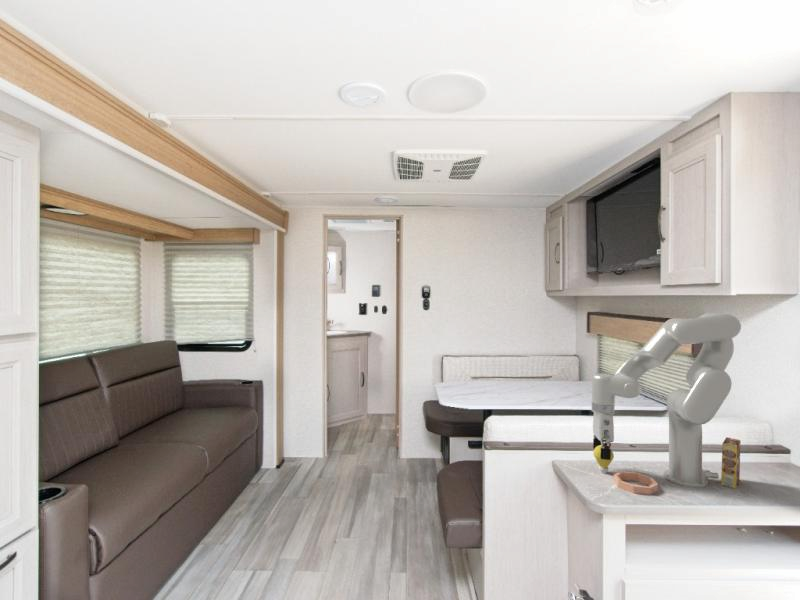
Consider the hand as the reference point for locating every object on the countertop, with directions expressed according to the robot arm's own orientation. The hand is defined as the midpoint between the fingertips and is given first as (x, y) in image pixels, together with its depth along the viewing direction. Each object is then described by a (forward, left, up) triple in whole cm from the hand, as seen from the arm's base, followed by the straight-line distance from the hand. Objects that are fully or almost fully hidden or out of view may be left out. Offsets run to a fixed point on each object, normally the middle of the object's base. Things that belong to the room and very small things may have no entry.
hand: (601, 454), depth 149 cm
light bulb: (-1, 0, -7) cm, 7 cm away
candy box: (-41, +2, -7) cm, 41 cm away
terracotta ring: (-8, +11, -7) cm, 15 cm away
